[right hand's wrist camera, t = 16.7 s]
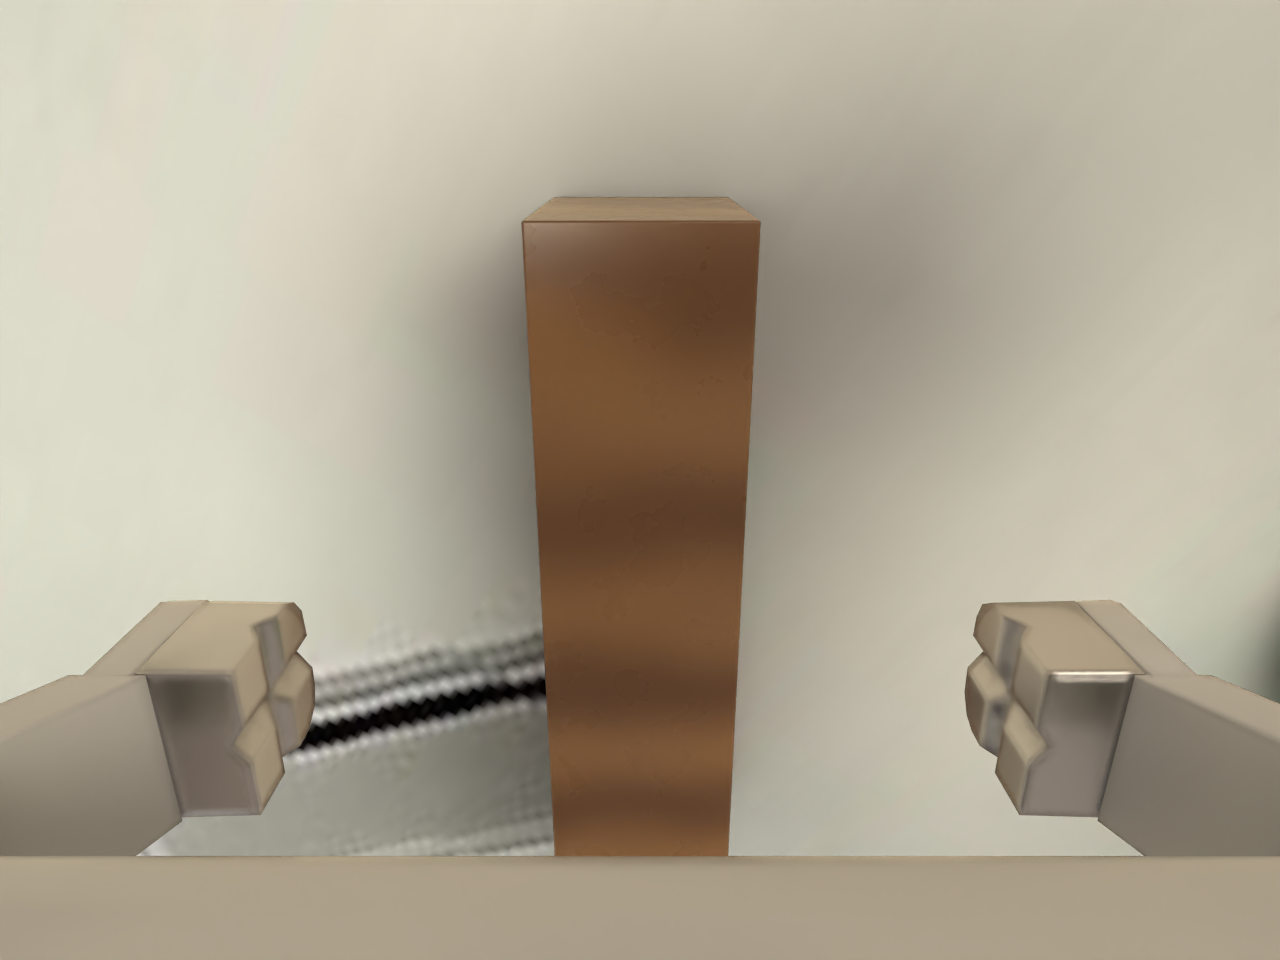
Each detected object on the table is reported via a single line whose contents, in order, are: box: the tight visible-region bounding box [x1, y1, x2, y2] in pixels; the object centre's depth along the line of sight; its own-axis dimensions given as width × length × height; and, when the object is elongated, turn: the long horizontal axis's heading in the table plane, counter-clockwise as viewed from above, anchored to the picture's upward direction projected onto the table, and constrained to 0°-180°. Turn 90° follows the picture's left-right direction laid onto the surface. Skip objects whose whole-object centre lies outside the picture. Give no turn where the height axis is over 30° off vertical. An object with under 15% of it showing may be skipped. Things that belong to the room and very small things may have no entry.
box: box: [522, 197, 761, 856], centre depth 32 cm, size 28×6×9 cm, turn 0°
